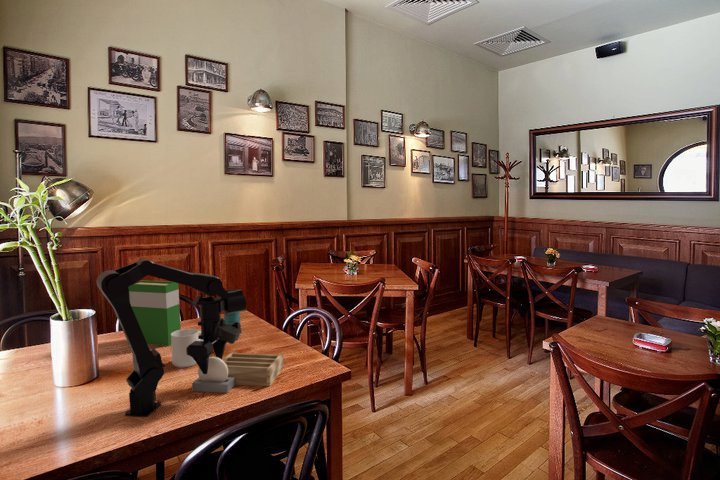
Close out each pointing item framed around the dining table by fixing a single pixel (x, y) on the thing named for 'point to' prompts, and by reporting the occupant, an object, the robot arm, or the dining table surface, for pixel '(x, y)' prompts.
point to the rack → (254, 368)
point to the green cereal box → (156, 309)
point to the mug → (183, 346)
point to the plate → (215, 371)
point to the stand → (213, 385)
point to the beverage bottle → (232, 315)
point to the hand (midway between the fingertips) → (212, 367)
